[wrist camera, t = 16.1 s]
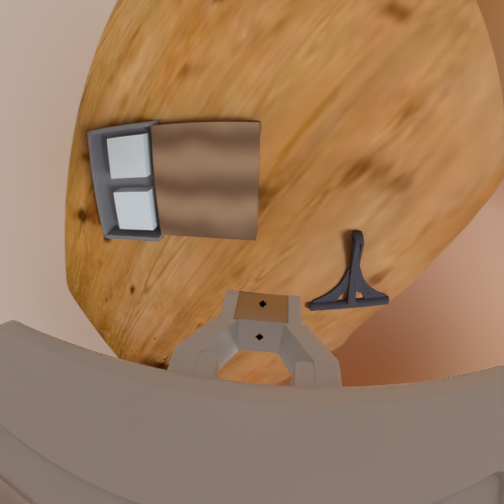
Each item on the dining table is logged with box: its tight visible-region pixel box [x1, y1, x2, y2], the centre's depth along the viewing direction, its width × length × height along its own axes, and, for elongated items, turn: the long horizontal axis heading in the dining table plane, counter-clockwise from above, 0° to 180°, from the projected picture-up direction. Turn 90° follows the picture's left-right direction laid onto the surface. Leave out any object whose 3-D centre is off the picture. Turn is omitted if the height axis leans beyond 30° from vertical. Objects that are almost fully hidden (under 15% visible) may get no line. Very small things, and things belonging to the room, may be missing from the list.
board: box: [151, 121, 261, 240], centre depth 36 cm, size 16×14×2 cm
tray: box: [87, 120, 164, 241], centre depth 36 cm, size 17×10×4 cm, turn 179°
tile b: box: [113, 186, 159, 230], centre depth 38 cm, size 6×6×2 cm
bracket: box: [310, 231, 389, 311], centre depth 42 cm, size 14×15×3 cm
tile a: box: [107, 132, 154, 179], centre depth 34 cm, size 6×6×2 cm
